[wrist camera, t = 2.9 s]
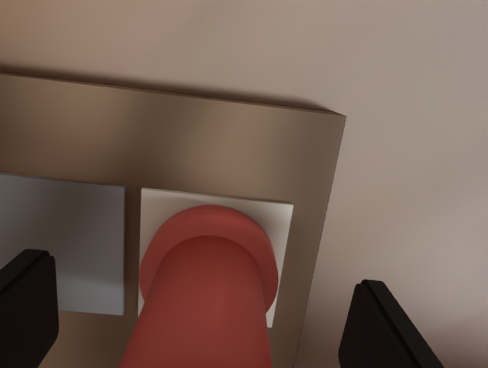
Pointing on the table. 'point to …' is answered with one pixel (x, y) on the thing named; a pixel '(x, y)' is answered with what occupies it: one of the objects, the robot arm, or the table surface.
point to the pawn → (205, 293)
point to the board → (153, 195)
